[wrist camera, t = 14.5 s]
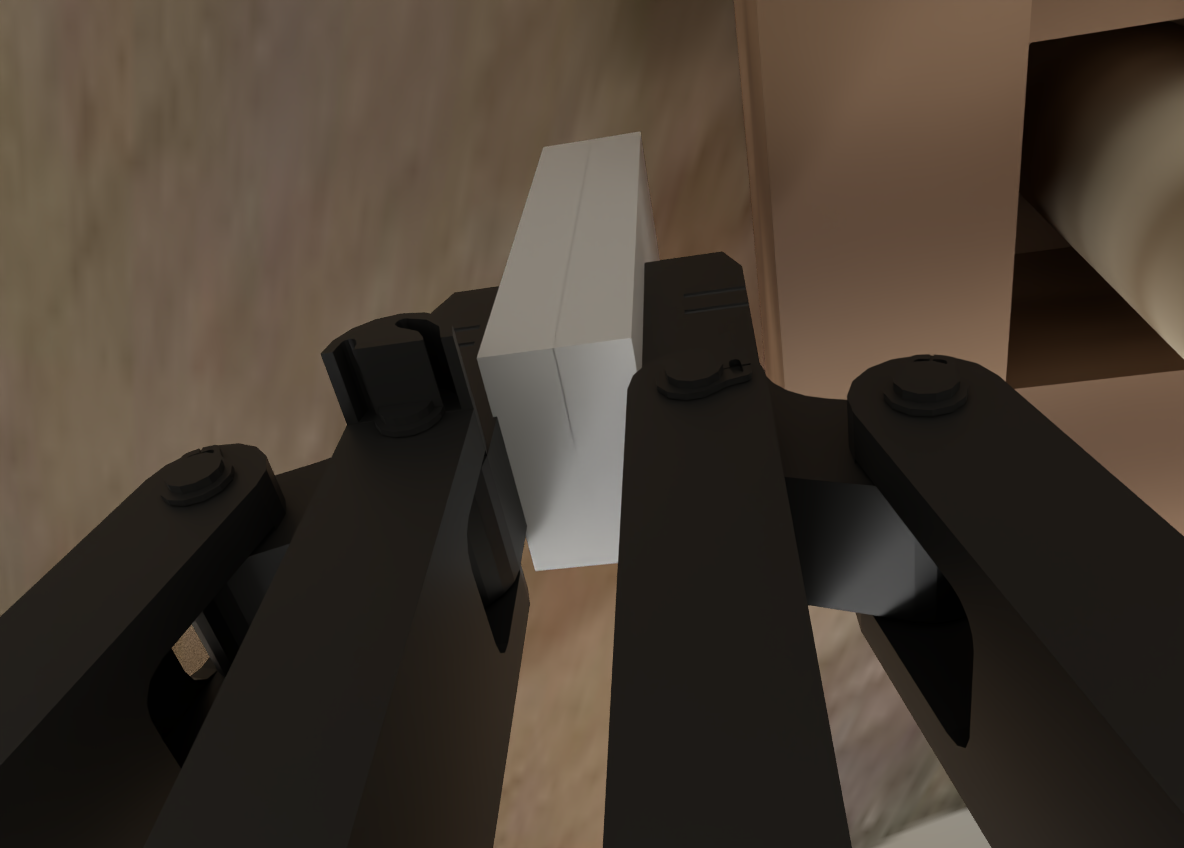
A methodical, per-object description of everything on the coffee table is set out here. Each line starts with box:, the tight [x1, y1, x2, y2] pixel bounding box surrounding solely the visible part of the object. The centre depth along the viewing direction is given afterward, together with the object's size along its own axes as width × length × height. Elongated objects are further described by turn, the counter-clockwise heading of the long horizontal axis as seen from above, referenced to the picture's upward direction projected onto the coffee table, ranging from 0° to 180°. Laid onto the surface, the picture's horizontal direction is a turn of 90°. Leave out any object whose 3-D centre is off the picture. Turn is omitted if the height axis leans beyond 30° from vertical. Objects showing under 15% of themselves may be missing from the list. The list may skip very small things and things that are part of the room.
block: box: [734, 0, 1184, 536], centre depth 14 cm, size 11×11×5 cm
